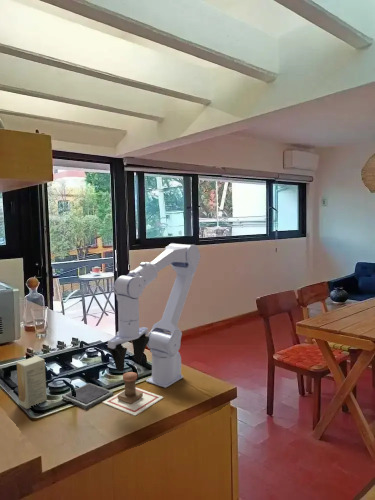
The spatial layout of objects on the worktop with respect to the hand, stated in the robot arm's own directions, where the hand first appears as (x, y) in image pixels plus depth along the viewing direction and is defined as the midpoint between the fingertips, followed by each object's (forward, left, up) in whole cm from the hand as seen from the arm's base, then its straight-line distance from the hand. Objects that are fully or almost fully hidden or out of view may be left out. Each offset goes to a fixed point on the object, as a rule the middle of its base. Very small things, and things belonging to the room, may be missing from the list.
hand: (129, 365), depth 110 cm
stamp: (+1, +1, -9) cm, 9 cm away
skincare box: (+17, -20, -10) cm, 28 cm away
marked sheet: (0, +2, -10) cm, 10 cm away
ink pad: (+6, -10, -10) cm, 15 cm away
